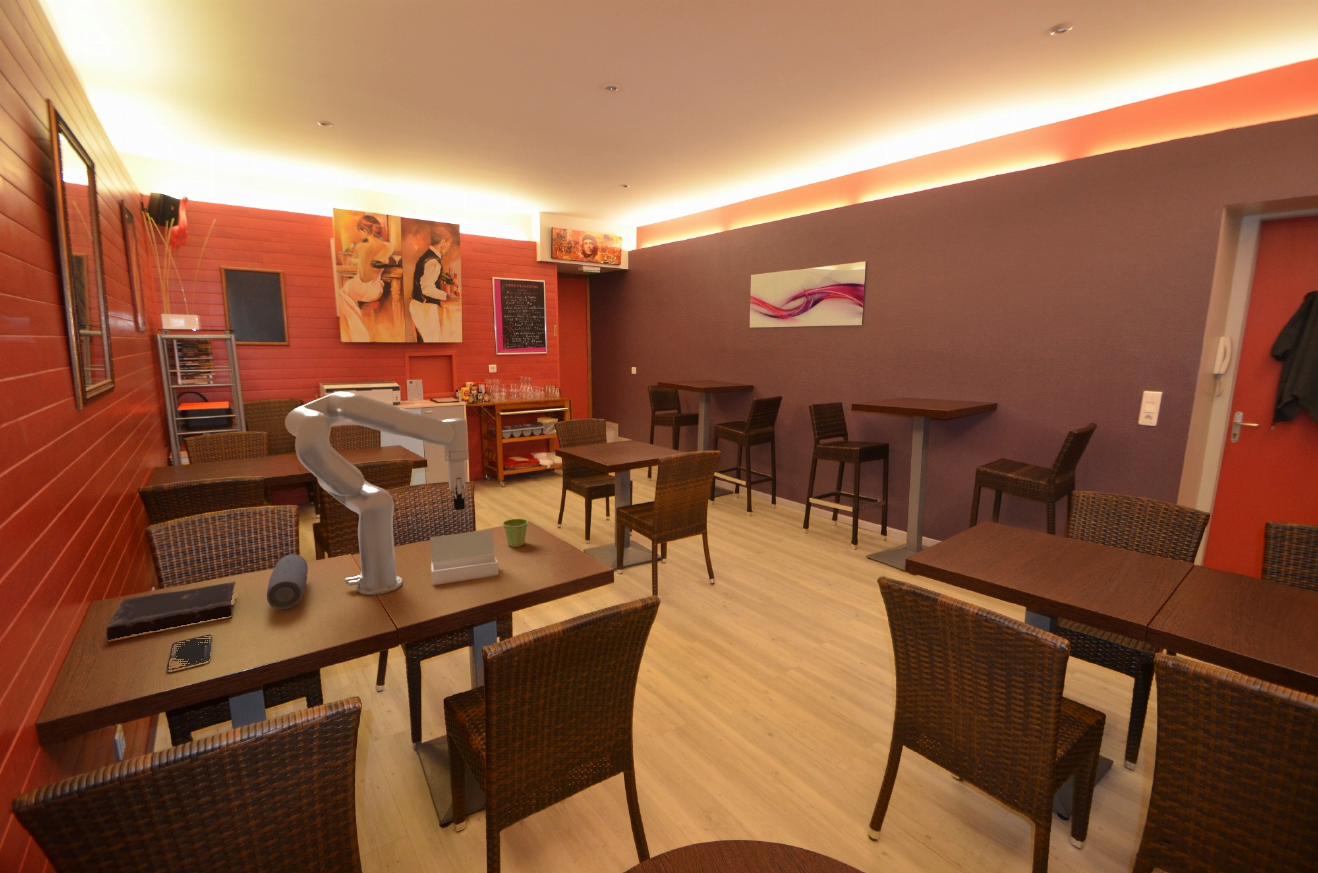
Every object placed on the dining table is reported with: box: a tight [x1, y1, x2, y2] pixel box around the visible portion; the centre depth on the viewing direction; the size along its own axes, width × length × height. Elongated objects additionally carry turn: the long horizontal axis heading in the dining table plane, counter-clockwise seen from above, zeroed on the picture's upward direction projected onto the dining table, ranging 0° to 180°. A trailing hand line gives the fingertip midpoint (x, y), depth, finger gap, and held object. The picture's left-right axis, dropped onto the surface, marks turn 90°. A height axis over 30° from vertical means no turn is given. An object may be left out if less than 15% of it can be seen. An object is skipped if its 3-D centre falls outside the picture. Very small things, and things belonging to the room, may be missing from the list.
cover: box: [429, 529, 495, 562], centre depth 188 cm, size 20×8×1 cm
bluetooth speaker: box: [266, 553, 309, 610], centre depth 168 cm, size 23×9×10 cm, turn 28°
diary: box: [106, 581, 236, 641], centre depth 156 cm, size 19×25×5 cm
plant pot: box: [502, 518, 529, 548], centre depth 213 cm, size 9×9×9 cm
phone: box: [166, 634, 213, 671], centre depth 138 cm, size 8×1×15 cm
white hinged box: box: [430, 553, 500, 586], centre depth 184 cm, size 20×8×4 cm, turn 113°
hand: (459, 507), depth 193 cm, fingers open, 2 cm apart
